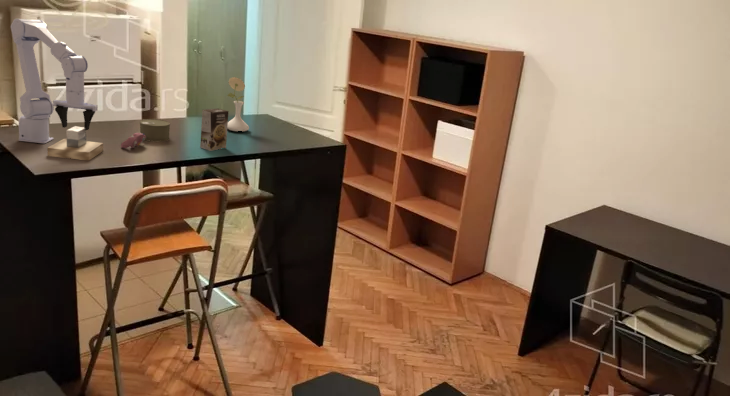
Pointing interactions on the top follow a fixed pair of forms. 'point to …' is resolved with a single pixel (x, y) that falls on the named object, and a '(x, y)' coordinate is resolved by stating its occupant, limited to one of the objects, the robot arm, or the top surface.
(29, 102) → the robot arm
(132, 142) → the pink toy
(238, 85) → the flower in vase
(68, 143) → the two-plate housing
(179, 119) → the top surface
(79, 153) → the birch stand
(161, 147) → the top surface
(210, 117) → the coffee box
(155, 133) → the can
